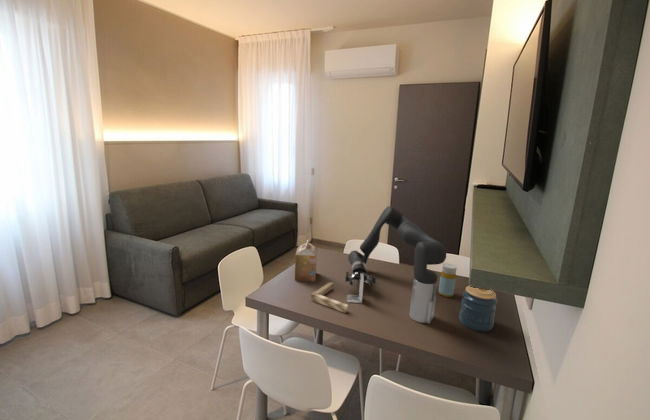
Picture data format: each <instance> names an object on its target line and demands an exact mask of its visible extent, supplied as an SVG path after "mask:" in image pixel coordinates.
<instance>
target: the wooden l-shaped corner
mask: <svg viewBox="0 0 650 420" xmlns="http://www.w3.org/2000/svg"><path fill="white" fill-rule="evenodd" d="M332 290H334V282H330V281H329V282H328V283H326V284H324V285H323V286H322V287H320V288H319V289H317V290H315V291H313V292H312V293H311V294H310V301H312V302H314V303H317V304H320V305H323V306H326V307H328V308H331V309H333V310H336V311H338V312H342V313H344V314H346V313H348V310H349V305H348V304H346V303H344V302H341V301H338V300H337V299H332V298H331V297H327V296H325V295H326V294H328V293H329V292H331V291H332Z"/></svg>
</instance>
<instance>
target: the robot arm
mask: <svg viewBox="0 0 650 420" xmlns="http://www.w3.org/2000/svg"><path fill="white" fill-rule="evenodd" d="M385 224H386V225H388V226H390V227H392V228H393V229H395V230H397V232H398V236H399V237H400V239H402V241H403V242H404V243H405V244H406V245H409V246H410V247H413V248H415V249H414V257H413V258H414V262H413V263H414V264H413V279H412V280H413V282H412V287H411V288H412V290H411V296H410V297H411V298H410V305H409V306H410V308H409V317H410V319H412V320H413V321H414V322H418V323H421V324H431V322H432V321H433V319H434V317H435V316H434V315H435V308H436V301H437V297H436V292H437V284H438V274H437V272H435V271H433V270H431V269H430V268H429V269H428V265H429V266H430V265H431V266H432V265H433V266H434V265H441V264H444V262H445V261H446V259H447V251H446V248H445V247H444V245H443V244H442V243H441V242H440V241H438V240H436V239H434V238H433V237H431V236H430V235H428V234H427V233H426V232H424V230H422V229H421V228H420V227H419V226H418V225H417V224H415V223H414V222H413V221H410V220H409V219H408V218H407V216H405V214H404V213H403V212H402V211H400V210H398V209H396V208H395V207H393V206H386V208H384V210H383V211H382V212H381V214H380V215H379V217H378V219H377V220H376V222H375V224H374V225H373V227H372V229H371V230H370V232H369V234H368V235H367V236H366V238H365V239H364V240H363V242H362V243H361V244H360V246H359V249H360V251H361V252H362V253H363V254H362V253H360V252H359V251H358V250H352V251H351V252H350V253H349V254H348V259H347V260H348V263H349V264H350V266H351V273H349V271H347V272H345V282H349V285H350V286H352V287H353V285H354V283H356V282H360V274H363V276H364V282H365V283H366V284H368V287H369V288H371V287H373V284H376V279H377V277H376V276H375V274H374V273H371V274H369V273H368V271H367V266H366V264H367V263H368V260H369V257H370V255H371V254H372V252H373V251H374V250H375V248H376V247H377V246H378V244H379V242H380V238H381V237H380V236H381V230H382V227H383V226H384V225H385Z"/></svg>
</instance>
